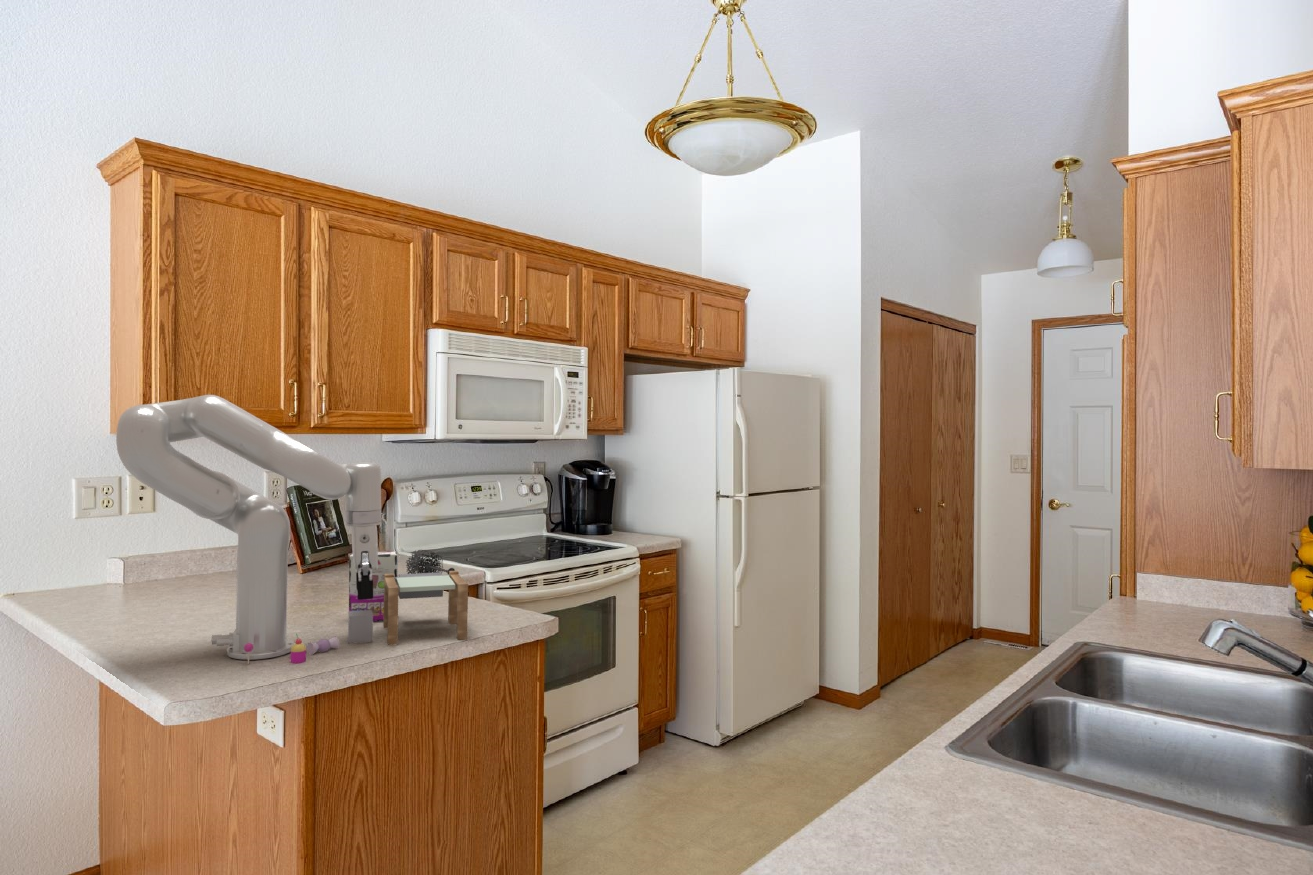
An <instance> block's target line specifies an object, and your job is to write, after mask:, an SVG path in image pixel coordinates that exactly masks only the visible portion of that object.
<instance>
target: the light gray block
mask: <svg viewBox="0 0 1313 875" xmlns="http://www.w3.org/2000/svg"><path fill="white" fill-rule="evenodd" d="M347 613H348V615H347V616H348V620H347V644H360V643H372V642H373V632H374V631H373V630H374V629H373V628H374V621H373V612H372V610H363V611H349V610H348V612H347Z"/></svg>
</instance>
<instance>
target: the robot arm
mask: <svg viewBox="0 0 1313 875" xmlns="http://www.w3.org/2000/svg"><path fill="white" fill-rule="evenodd" d="M196 438H197V439H199V438H205V439H207V440H210V441H211V442H213V443H215V444H217V445H218V446H220V447H222V448H224V449H226V450H227V451H230V452H232V453H233V454H235V455H237V456H238V457H241V458H242V459H244V460H246V461H247V462H250V463H252V464H253V465H256V466H257V467H260V468H261V469H264V470H266V471H270V472H272V473H275V474H278V475H279V476H281V477H284V478H286V479H288V480H290V481H292V482H293V483H295V484H297V485H299V486H301V487H302V488H305V489H307V490H308V491H309V492H310V493H311V494H314V495H315V496H318V497H320V498H322V499H325V500H329V501H331V500H333V501H334V500H338V499H341V498H342V497H344V501H345V502H344V504H345V508H344V509H345V510H344V511H345V512H344V513H345V514H344V515H345V526H346V527H350V528H351V549H352V552H351V553H353V561H354V566H355V570H356V571H357V572H358V573H356V588H357V591H358V599H359V600H362V599H372V598H373V580H372V568H375V570H377V569H378V552H379V548H378V547H379V545H378V542H379V541H378V538H379V537H378V528H377V526H380V525H382V481H381V480H382V472H381V466H380V465H379V464H378V463H376V462H371V461H370V462H369V461H368V462H367V461H365V462H363V461H362V462H351V463H337V462H334V461H333V460H331V459H330V458H328V457H326V456H324V455H322V454H321V453H319V452H317V451H315V450H313V449H311V448H310V447H308V446H306V445H304V444H303V443H301V442H299V441H298V440H296V439H294V438H293V437H291V436H290V435H288V434H287V433H285V432H283V431H282V430H280V429H279V428H277V427H275V426H273V425H271V424H270V423H268V422H266V421H264V420H262V419H261V418H259V417H257V416H255V415H254V414H252V413H250V412H248V411H246V410H245V409H243V408H242V407H239V406H238V405H236V404H234V403H232V402H230V401H229V400H227V399H225V398H223V397H221V396H218V395H216V394H204V395H200V396H199V395H198V396H194V397H190V398H184V399H178V400H171V401H169V400H168V401H163V402H155V403H147V404H136V405H134V406H131V407H129V408H128V409H126V410H124V411H123V412H122V414H121V415H120V417H119V419H118V422H117V426H116V450H117V454H118V456H119V459H120V461H121V463H122V464H123V466H124V468H125V469H126V470H127V471H128V473H129V474H130V475H132V476H133V477H134V478H135V479H136V480H138V481H139V482H140V483H142V484H144V485H145V486H147V487H149V488H150V489H152V490H154V491H156V492H158V493H160V495H163V496H164V497H166V498H168V499H169V500H171V501H173V502H175V503H177V504H178V505H181V506H182V507H184V508H186V509H188V510H189V511H191V512H192V513H193V514H195V515H196V516H198V517H200V518H203V519H205V520H210V521H212V522H214V523H215V524H218V525H219V526H221V527H223V528H225V529H227V530H228V531H231V532H233V533H235V534H237V536H238V537H237V553H236V555H237V556H236V602H235V603H236V604H235V605H236V608H235V610H236V611H235V612H236V613H235V616H236V619H235V628H234V631H231V632H229V633H228V634H212V636H211V642H210V643H211V646H212V645H216V647H222V646H228V648H227V649H226V655H227V656H228V657H229V658H232V659H235V660H236V659H237V660H242V661H243V660H244V661H245V660H247V661H248V652H246V651H245V650H244V646H245V644H247V643H252V644H253V650H252V651H250V652H249V661H253V660H265V659H271V658H277V657H281V656H284V655H287V654H289V653H291V647H292V646H293V645H294V644H295V642H294V641H293V640H291V639H287V626H288V624H287V623H288V622H287V621H288V618H287V617H288V567H289V566H288V565H289V564H288V562H289V561H288V560H289V558H288V557H289V547H290V539H291V538H290V537H291V522H290V517H289V516H288V512H287V511H286V510H285V509H284V508H283V507H282V505H280V504H278V503H277V502H275V501H273V500H272V499H269V498H268V497H266V496H264V495H262V494H260V493H258V492H257V491H255V490H253V489H251V488H250V487H248V486H246V485H245V484H242V483H241V482H239V481H238V480H235V479H234V478H232V477H230V476H228V475H227V474H225V473H223V472H221V471H220V472H219V471H215V470H211V469H210V468H208V467H206V466H204V465H203V464H200V463H198V461H195V460H194V459H192V458H190V457H189V456H187V455H185V453H184V454H183V453H182V452H180V451H179V450H177V449H175V447H174V446H173V445H172V444H171V443H174V442H181V441H186V440H192V439H196Z"/></svg>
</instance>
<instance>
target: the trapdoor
mask: <svg viewBox="0 0 1313 875" xmlns="http://www.w3.org/2000/svg"><path fill="white" fill-rule="evenodd" d="M441 572H442V571H441ZM441 572H440V571H439V573H433V572H432V573H417V574H411V573H409V574H408V573H402V574H401V573H400V574H398V577H395V582H396V583H397V585H398V588H399V591H398V599H399V600H406V599H407V600H408V599H421V598H422V599H424V598H427V599H428V598H443V597H444V590H445V591H446V590H448V591H449V589H455V584H454V582H453V581H452V579H451V578H450V575H448V574H442V573H441Z"/></svg>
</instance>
